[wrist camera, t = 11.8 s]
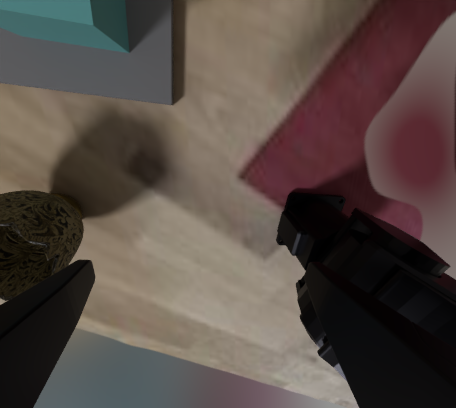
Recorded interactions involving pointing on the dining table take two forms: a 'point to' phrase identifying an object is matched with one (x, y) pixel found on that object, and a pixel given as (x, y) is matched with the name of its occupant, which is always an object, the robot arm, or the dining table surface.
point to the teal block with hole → (69, 21)
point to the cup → (36, 238)
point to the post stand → (100, 59)
